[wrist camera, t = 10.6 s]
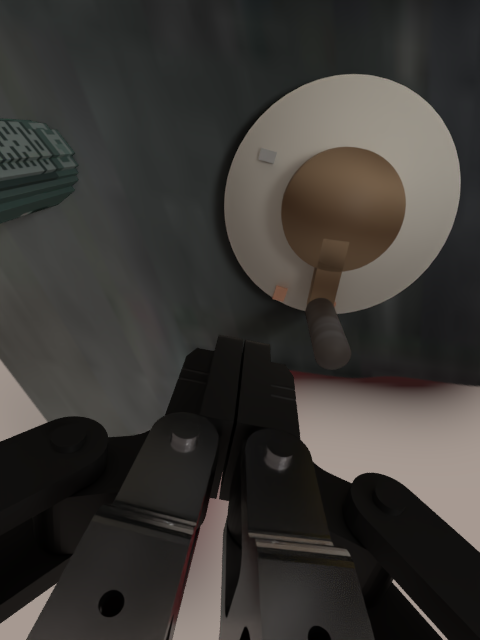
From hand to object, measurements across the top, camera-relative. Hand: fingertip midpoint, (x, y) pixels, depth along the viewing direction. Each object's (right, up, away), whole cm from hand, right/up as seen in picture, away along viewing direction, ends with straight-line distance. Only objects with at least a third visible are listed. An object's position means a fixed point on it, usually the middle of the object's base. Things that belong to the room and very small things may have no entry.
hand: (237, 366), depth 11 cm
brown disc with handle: (+8, +8, +20) cm, 22 cm away
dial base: (+8, +11, +20) cm, 24 cm away
